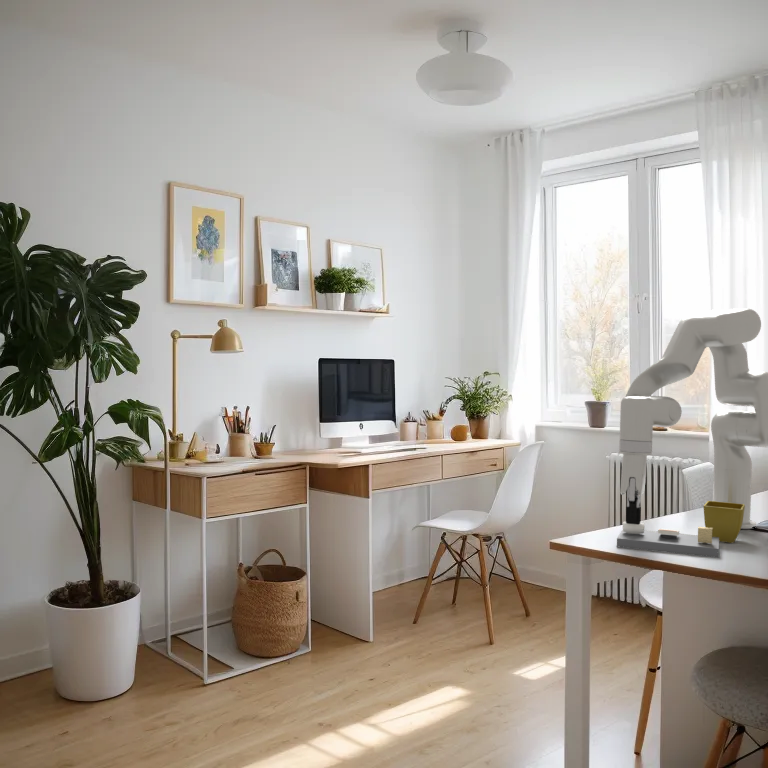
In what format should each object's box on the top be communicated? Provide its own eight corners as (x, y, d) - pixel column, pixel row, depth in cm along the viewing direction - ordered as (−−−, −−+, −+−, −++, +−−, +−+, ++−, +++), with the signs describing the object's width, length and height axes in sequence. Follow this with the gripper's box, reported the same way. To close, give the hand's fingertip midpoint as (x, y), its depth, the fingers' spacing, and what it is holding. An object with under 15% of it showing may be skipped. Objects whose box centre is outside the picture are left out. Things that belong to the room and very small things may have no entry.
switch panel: (623, 535, 194) (623, 525, 194) (718, 545, 185) (719, 534, 185) (616, 546, 181) (616, 535, 181) (718, 557, 172) (719, 546, 172)
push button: (623, 528, 190) (624, 520, 190) (645, 530, 188) (645, 522, 188) (621, 532, 185) (621, 524, 185) (643, 534, 183) (643, 526, 183)
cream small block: (697, 540, 179) (698, 526, 179) (711, 541, 178) (712, 527, 178) (697, 541, 177) (698, 528, 177) (711, 543, 176) (712, 529, 176)
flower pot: (741, 546, 185) (742, 508, 185) (702, 541, 189) (703, 505, 189) (744, 539, 193) (745, 504, 193) (706, 535, 197) (707, 500, 197)
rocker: (659, 531, 187) (659, 528, 187) (679, 533, 185) (679, 530, 185) (657, 533, 181) (658, 529, 181) (677, 535, 179) (678, 531, 180)
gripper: (622, 444, 194) (620, 517, 194) (615, 449, 181) (613, 527, 181) (654, 446, 191) (652, 520, 191) (649, 451, 178) (646, 530, 178)
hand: (633, 523), depth 186 cm, fingers closed
